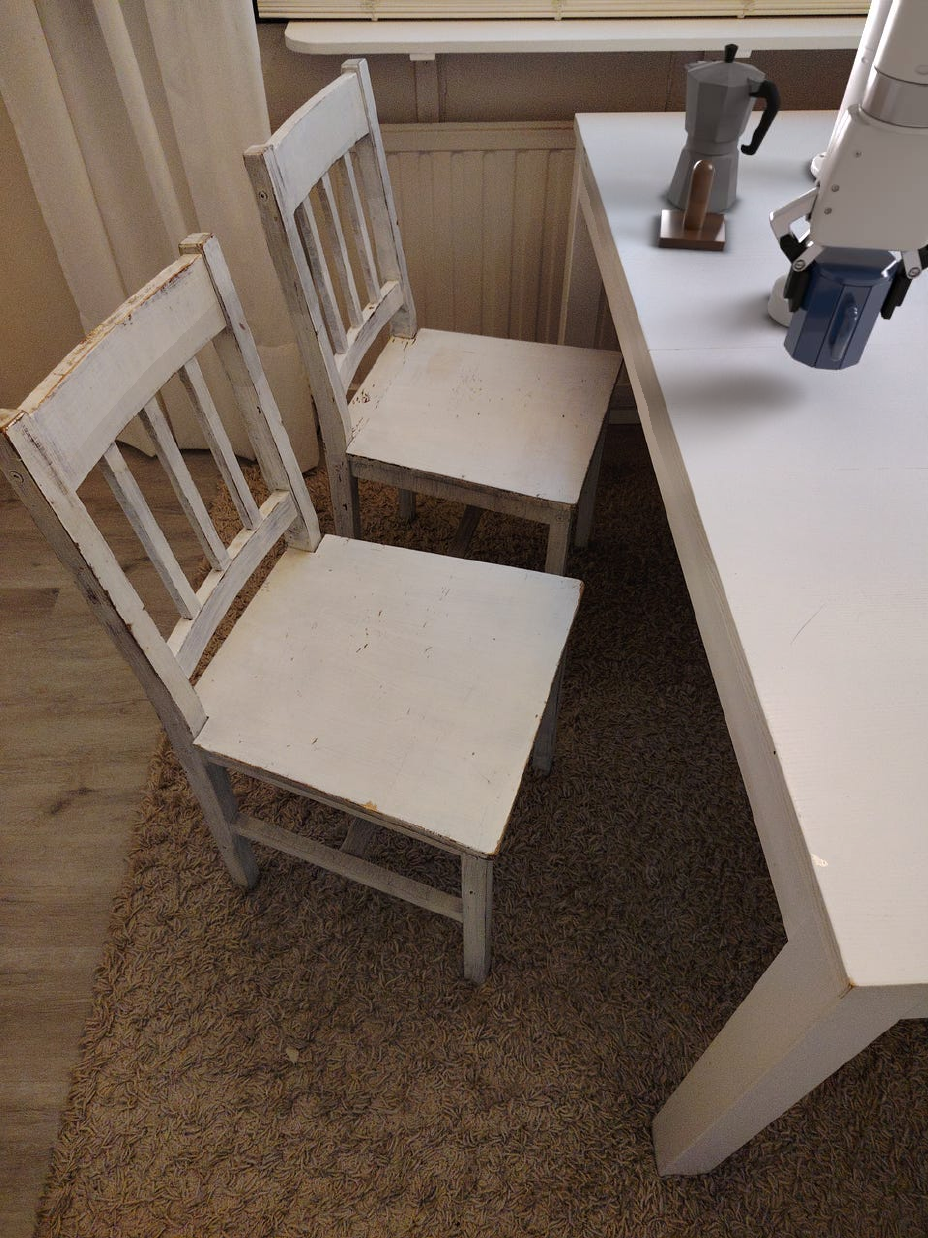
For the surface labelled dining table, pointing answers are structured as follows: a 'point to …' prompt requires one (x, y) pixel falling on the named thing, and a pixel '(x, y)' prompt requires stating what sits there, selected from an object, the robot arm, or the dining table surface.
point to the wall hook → (779, 303)
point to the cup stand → (695, 216)
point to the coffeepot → (721, 124)
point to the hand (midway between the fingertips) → (837, 307)
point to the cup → (839, 307)
